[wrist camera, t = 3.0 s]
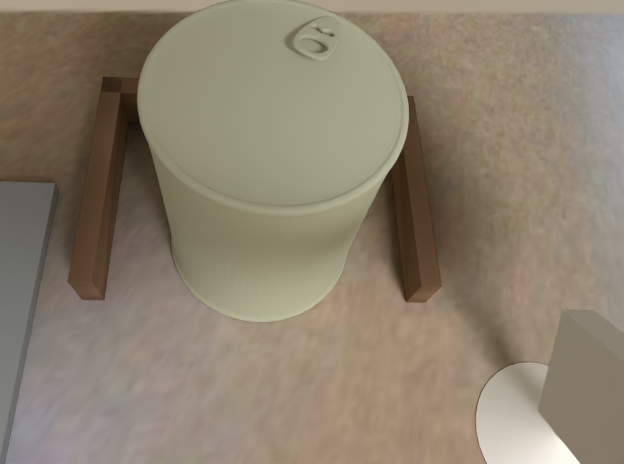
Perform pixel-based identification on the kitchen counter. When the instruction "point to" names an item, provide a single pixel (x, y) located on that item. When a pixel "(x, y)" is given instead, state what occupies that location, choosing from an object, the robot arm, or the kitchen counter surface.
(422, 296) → the walnut stall
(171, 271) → the kitchen counter surface
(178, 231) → the can
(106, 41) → the kitchen counter surface
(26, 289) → the slate tile
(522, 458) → the champagne flute
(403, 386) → the kitchen counter surface
